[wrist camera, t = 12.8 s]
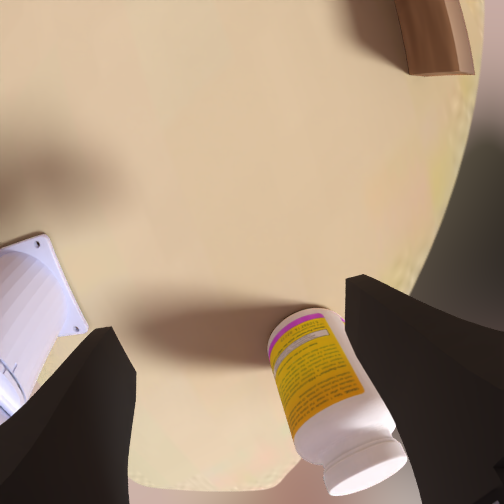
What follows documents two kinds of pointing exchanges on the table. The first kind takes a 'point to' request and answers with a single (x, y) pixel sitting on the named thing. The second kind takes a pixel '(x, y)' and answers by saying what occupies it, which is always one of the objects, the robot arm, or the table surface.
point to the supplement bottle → (332, 403)
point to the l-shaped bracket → (435, 37)
